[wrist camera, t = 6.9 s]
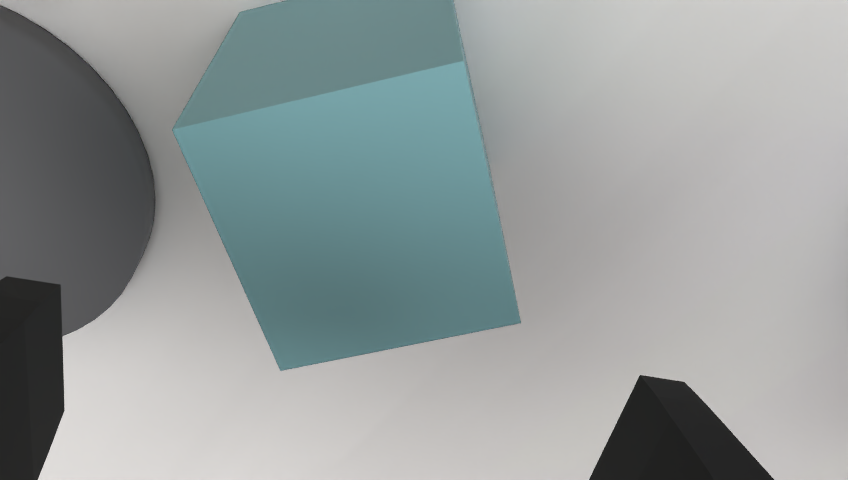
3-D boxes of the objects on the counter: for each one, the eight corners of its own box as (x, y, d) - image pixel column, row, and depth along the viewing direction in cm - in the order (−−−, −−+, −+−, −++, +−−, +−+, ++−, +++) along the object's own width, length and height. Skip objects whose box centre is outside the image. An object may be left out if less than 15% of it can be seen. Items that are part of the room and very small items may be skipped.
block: (489, 167, 19) (520, 323, 14) (311, 206, 20) (280, 371, 15) (444, -40, 17) (463, 60, 11) (240, 11, 17) (172, 129, 12)
